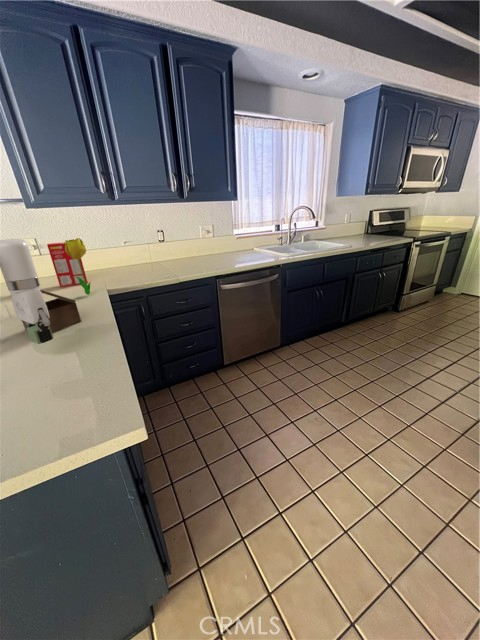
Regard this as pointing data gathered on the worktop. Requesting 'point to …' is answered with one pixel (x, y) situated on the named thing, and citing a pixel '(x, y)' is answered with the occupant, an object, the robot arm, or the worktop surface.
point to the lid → (56, 296)
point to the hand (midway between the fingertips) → (42, 338)
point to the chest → (61, 314)
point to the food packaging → (66, 266)
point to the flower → (77, 257)
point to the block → (35, 334)
